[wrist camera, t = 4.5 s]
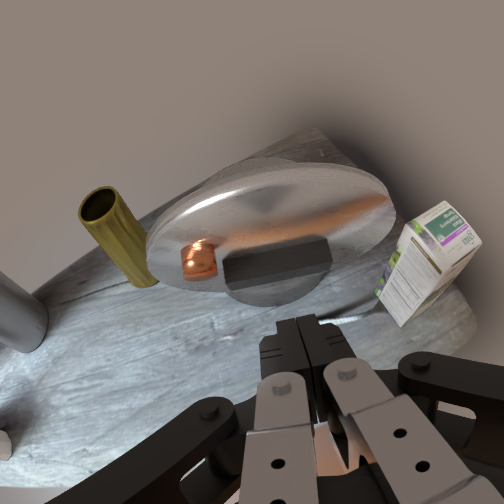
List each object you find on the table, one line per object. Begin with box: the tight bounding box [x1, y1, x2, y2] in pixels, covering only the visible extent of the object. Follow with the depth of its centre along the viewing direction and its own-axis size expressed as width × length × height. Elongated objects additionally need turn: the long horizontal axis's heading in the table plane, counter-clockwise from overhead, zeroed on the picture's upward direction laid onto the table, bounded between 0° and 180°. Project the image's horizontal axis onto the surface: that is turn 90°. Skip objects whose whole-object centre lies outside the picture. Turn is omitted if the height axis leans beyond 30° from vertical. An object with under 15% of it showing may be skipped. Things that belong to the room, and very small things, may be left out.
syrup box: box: [375, 200, 482, 328], centre depth 30 cm, size 6×6×14 cm
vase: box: [78, 186, 159, 288], centre depth 38 cm, size 6×6×14 cm
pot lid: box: [146, 162, 396, 292], centre depth 22 cm, size 17×17×3 cm
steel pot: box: [201, 157, 325, 307], centre depth 39 cm, size 16×16×9 cm
